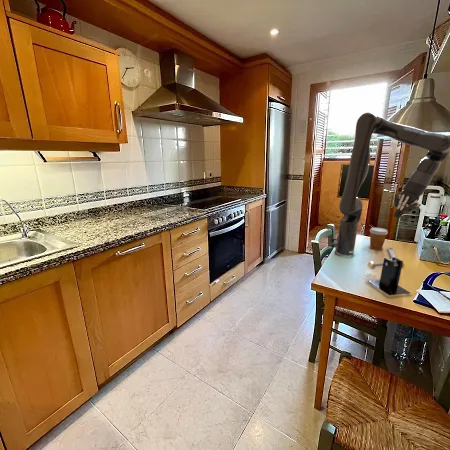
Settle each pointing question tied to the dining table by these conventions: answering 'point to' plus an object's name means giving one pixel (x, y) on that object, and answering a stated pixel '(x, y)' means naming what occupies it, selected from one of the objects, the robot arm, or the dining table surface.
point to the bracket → (390, 278)
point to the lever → (372, 265)
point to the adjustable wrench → (392, 253)
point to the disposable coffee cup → (377, 238)
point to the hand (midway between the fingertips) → (396, 217)
